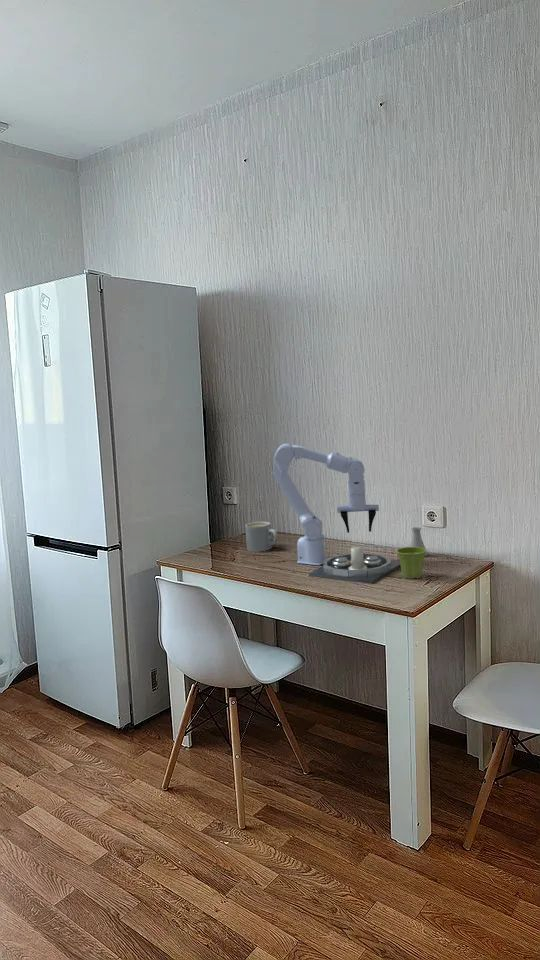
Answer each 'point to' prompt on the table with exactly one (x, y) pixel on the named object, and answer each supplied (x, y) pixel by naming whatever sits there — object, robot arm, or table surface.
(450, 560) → the table surface
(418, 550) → the plant pot
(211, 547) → the table surface
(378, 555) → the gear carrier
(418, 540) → the flask
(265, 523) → the coffee mug
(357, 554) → the white mushroom peg
